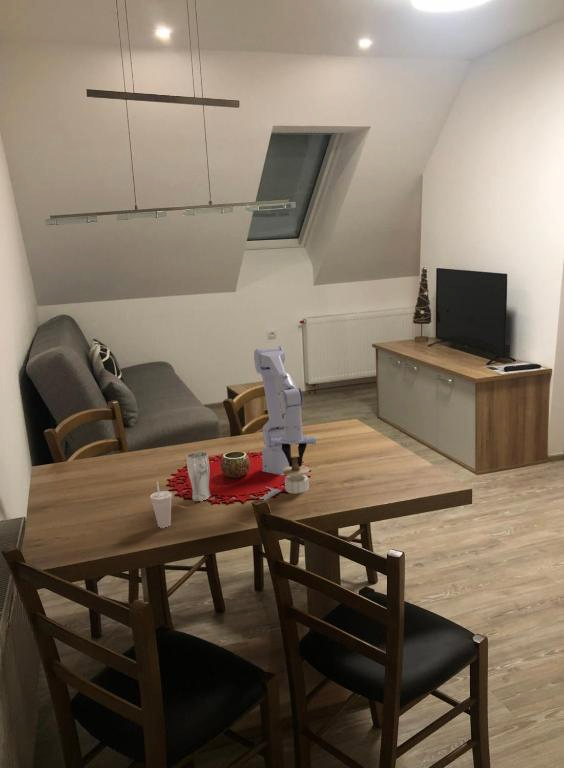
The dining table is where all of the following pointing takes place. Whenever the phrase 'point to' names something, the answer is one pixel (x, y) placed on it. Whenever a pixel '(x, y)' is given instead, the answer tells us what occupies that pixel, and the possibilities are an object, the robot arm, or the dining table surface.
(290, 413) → the robot arm
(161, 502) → the smoothie
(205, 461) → the beer glass
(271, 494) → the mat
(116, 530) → the dining table surface
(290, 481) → the bowl
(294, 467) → the lid
